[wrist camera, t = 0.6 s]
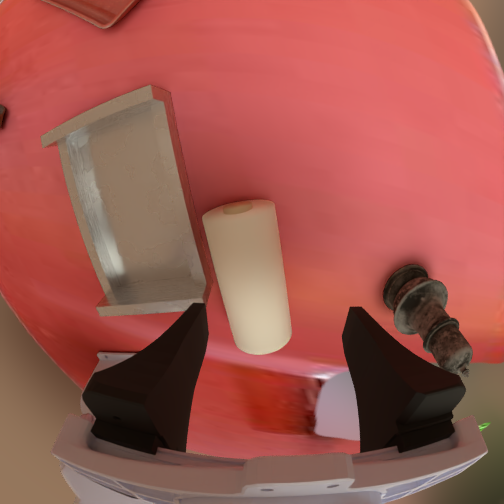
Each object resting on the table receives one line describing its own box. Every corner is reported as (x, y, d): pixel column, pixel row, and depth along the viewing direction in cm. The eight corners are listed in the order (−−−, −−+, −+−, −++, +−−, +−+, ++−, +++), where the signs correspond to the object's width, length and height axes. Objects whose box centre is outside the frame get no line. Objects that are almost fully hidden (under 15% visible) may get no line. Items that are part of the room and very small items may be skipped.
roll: (235, 322, 25) (233, 360, 21) (206, 203, 21) (195, 223, 16) (288, 314, 25) (295, 351, 21) (270, 192, 21) (277, 209, 16)
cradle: (117, 292, 24) (100, 316, 21) (69, 132, 18) (40, 136, 14) (213, 281, 24) (205, 309, 20) (170, 92, 17) (150, 84, 13)
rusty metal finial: (422, 309, 25) (476, 390, 14) (375, 316, 25) (421, 411, 14) (435, 259, 22) (509, 336, 11) (385, 263, 22) (454, 356, 12)
